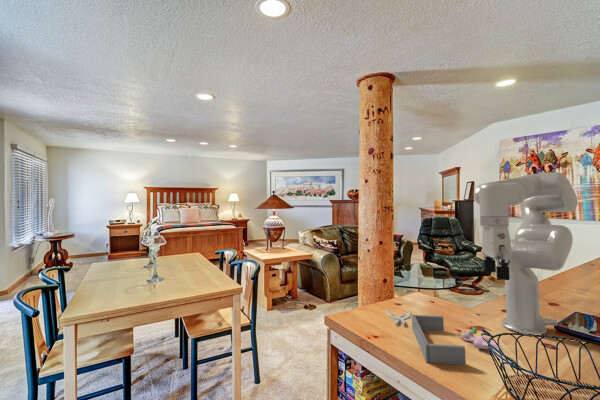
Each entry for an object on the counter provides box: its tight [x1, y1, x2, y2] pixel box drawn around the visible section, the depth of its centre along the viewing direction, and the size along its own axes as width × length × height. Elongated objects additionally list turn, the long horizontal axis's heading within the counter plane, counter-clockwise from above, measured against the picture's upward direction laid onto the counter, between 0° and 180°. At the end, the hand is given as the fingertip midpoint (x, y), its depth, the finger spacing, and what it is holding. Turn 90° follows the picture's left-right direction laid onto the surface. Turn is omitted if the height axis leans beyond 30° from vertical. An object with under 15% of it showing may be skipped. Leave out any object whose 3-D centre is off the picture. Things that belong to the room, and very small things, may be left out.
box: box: [411, 314, 467, 366], centre depth 91 cm, size 10×22×5 cm, turn 168°
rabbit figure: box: [457, 326, 504, 351], centre depth 89 cm, size 6×6×15 cm
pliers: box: [385, 308, 411, 327], centre depth 113 cm, size 10×2×15 cm
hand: (496, 275), depth 89 cm, fingers open, 9 cm apart
